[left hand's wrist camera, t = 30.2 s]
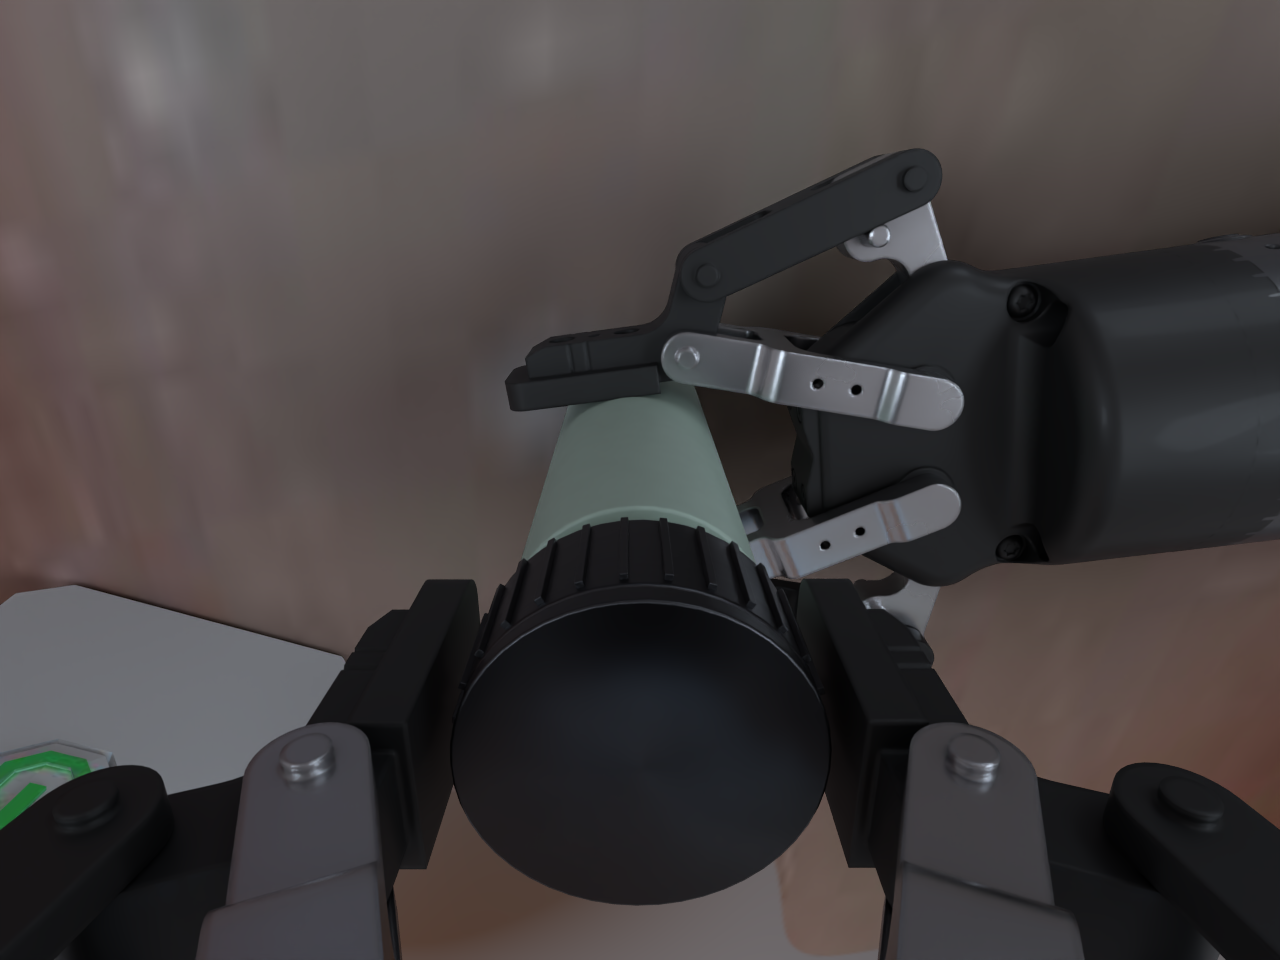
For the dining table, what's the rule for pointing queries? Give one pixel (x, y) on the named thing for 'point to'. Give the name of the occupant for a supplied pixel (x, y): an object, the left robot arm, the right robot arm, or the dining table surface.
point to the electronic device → (140, 692)
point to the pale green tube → (636, 469)
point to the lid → (640, 717)
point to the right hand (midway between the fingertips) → (533, 479)
